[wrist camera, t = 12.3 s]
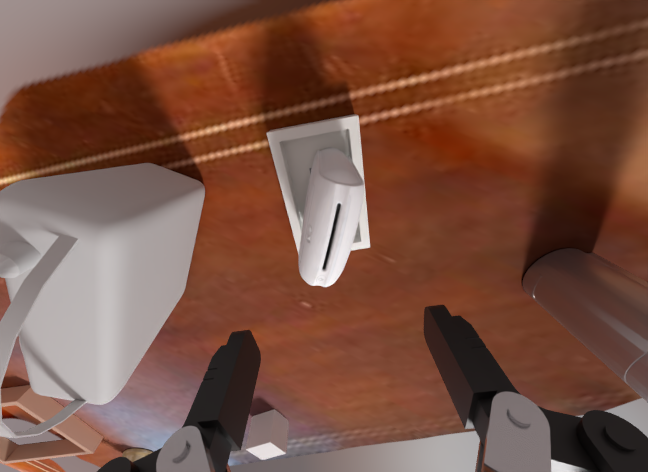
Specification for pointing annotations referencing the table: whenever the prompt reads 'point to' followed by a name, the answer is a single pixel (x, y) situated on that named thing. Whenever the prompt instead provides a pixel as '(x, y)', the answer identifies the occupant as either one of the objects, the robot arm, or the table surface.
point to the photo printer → (329, 217)
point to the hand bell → (135, 453)
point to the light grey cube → (268, 435)
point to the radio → (92, 276)
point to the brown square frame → (43, 409)
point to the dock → (297, 159)
